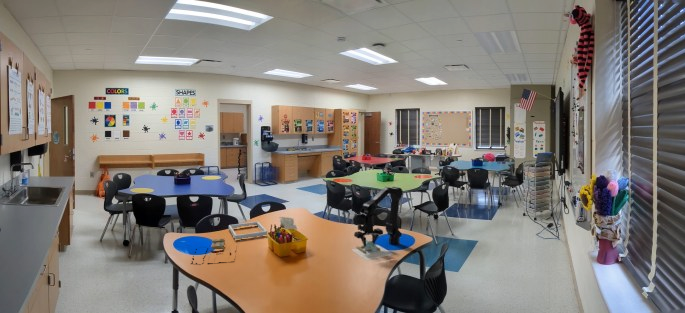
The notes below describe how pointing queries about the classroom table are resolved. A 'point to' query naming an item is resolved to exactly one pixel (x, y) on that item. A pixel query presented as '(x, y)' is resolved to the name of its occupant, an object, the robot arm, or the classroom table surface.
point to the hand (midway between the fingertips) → (368, 246)
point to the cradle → (364, 250)
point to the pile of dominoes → (218, 243)
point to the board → (373, 253)
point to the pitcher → (287, 223)
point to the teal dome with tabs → (370, 246)
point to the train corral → (248, 233)
